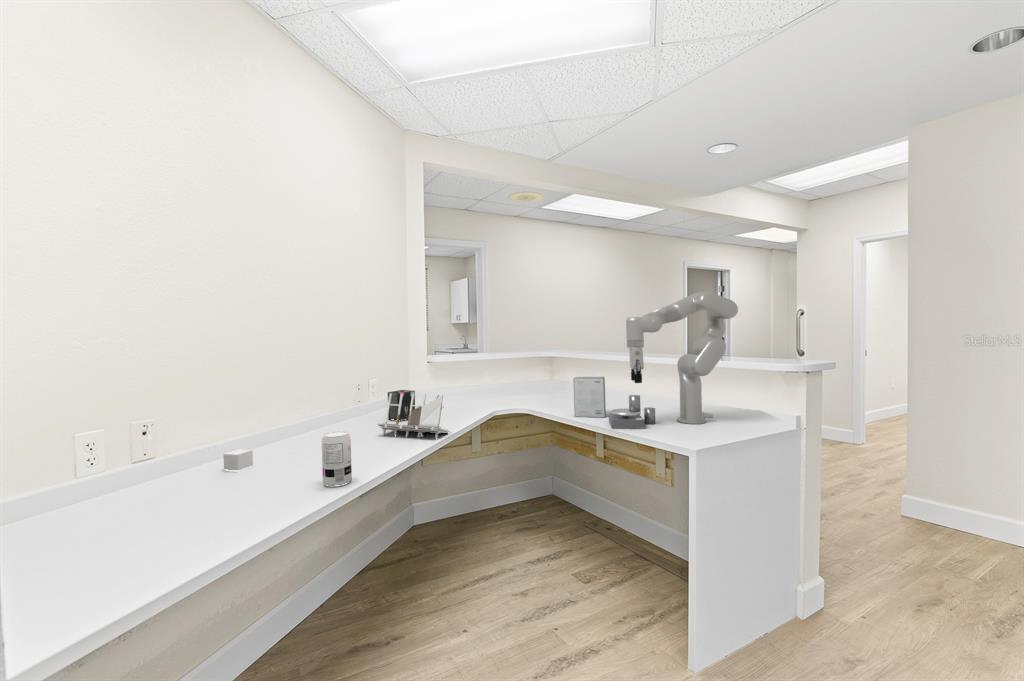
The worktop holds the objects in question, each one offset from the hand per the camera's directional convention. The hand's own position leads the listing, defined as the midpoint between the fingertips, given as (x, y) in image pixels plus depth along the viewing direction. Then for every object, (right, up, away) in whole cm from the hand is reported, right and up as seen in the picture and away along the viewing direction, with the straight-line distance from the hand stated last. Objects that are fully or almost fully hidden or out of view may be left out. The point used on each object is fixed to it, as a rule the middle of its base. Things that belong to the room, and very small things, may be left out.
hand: (636, 381), depth 206 cm
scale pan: (-5, -16, 0) cm, 17 cm away
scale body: (-5, -20, 0) cm, 21 cm away
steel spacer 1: (-1, -13, 0) cm, 13 cm away
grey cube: (-150, -25, -52) cm, 161 cm away
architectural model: (-100, -23, -8) cm, 103 cm away
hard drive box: (-17, -20, +25) cm, 36 cm away
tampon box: (-114, -22, +29) cm, 120 cm away
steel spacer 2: (+7, -20, +4) cm, 22 cm away
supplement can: (-110, -25, -69) cm, 132 cm away
